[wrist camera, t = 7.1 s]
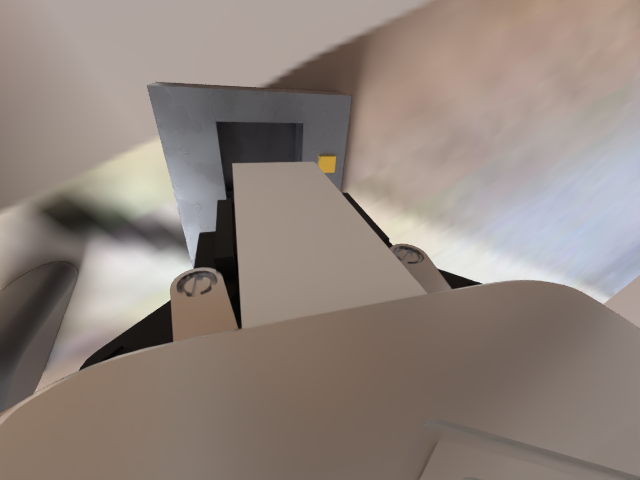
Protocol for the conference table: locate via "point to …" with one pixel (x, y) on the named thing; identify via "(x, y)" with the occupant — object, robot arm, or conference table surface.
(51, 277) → the leaning round-cornered charcoal block
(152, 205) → the conference table surface
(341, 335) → the robot arm
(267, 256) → the plug
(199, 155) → the panel
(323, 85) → the conference table surface
